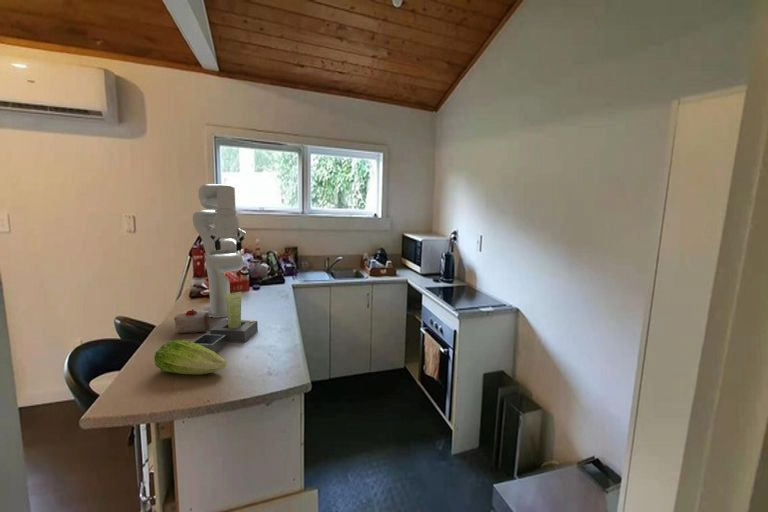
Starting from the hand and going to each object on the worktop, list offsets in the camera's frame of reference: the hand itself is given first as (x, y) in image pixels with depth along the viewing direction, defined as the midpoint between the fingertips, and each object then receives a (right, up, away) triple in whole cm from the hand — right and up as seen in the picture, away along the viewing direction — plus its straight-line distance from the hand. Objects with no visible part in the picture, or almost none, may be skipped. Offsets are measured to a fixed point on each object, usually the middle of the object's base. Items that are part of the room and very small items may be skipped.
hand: (228, 250), depth 162 cm
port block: (+6, -38, -6) cm, 39 cm away
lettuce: (+4, -43, -38) cm, 58 cm away
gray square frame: (+1, -40, -20) cm, 44 cm away
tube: (+6, -38, -6) cm, 39 cm away
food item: (-16, -37, -1) cm, 40 cm away
